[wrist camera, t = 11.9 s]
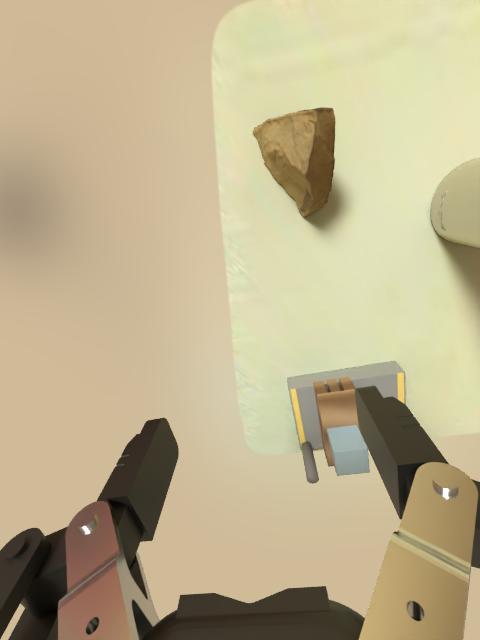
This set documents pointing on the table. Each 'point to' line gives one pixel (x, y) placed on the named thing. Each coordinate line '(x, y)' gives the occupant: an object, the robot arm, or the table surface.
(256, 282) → the table surface
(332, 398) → the pallet
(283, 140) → the rock
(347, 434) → the pale blue cube
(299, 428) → the dock
